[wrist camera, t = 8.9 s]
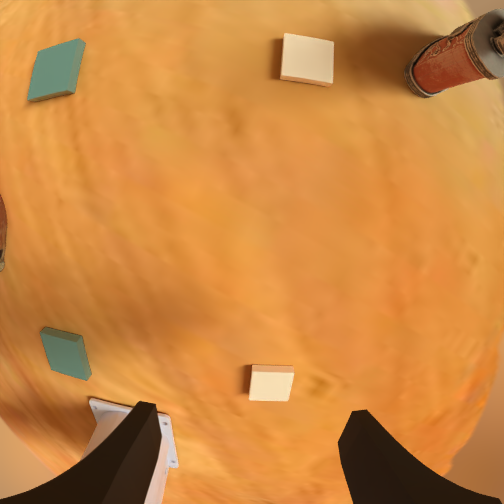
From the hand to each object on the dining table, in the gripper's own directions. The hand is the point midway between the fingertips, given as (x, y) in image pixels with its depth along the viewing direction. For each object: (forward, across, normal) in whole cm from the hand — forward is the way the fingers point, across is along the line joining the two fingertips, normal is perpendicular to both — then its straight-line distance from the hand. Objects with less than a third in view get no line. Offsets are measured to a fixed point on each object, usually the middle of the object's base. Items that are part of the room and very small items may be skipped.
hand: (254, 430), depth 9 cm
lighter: (+10, -12, -19) cm, 25 cm away
